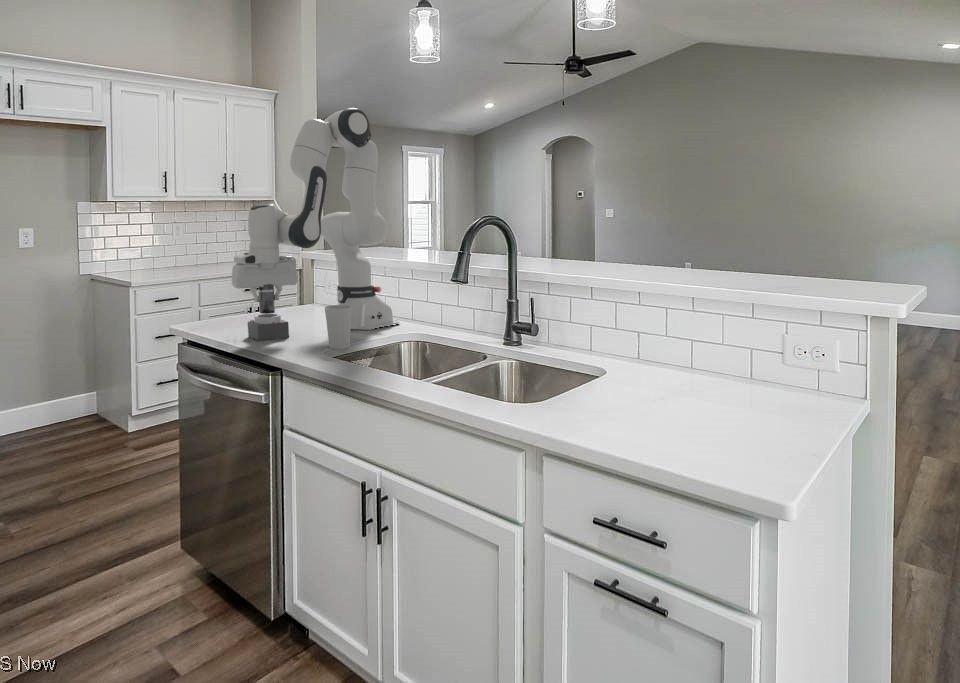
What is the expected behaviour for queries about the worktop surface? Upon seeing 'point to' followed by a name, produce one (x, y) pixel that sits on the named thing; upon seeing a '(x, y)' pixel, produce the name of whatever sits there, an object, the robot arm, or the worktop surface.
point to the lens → (266, 299)
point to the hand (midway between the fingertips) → (266, 301)
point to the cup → (338, 325)
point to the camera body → (268, 327)
